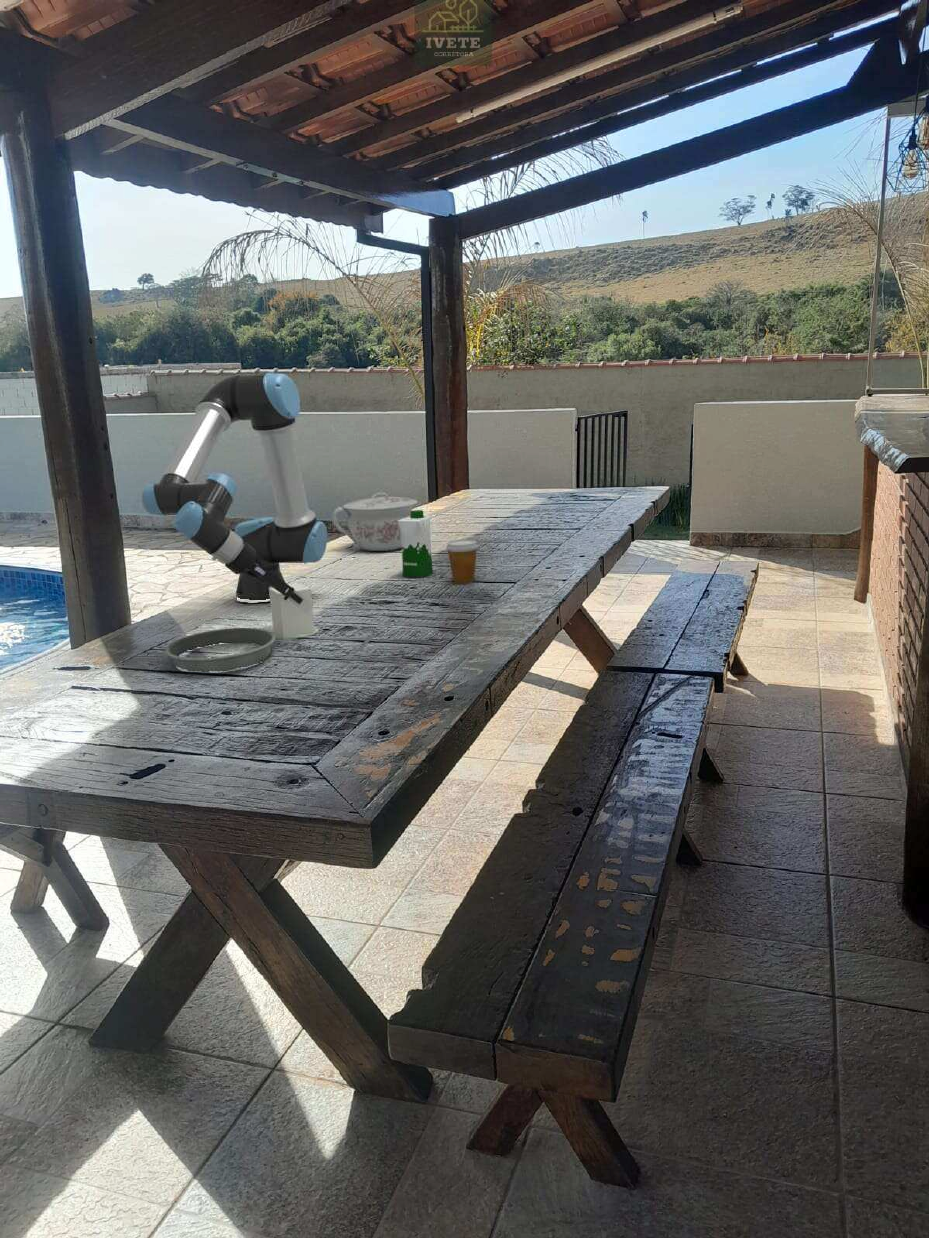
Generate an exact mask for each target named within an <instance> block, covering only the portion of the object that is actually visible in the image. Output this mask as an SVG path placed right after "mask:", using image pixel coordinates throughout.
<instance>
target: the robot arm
mask: <svg viewBox="0 0 929 1238" xmlns="http://www.w3.org/2000/svg"><path fill="white" fill-rule="evenodd" d="M300 404H301V398H300V394H299V391H298V388H297V386H296V384H295V382H294V381H293V380H292V378H290V377H289V376H288V375H287V374H284V373H274V372H267V373H256V374H245V375H243V374H242V375H240V374H238V375H231V376H229V377H225V378H224V379H221V380H220V381H218V382H217V383H216V384H214V385H213V386H212V387H211V388H210V389H209V390H207V392H206V393H205V394H204V395H203V396H202V398H200V401H199V402H198V404H197V405H196V408H195V411H194V412H195V413H194V414H195V417H194V419H193V421H192V422H191V423H192V424H191V425H190V427H189V428H188V430H187V432H186V433H185V436H184V438H183V439H182V441H181V443H180V445H179V447H178V448H177V450H176V452H175V454H174V455H173V457H172V458H171V459H172V460H171V461H170V463H169V464H168V466H167V468H166V470H165V472H164V474H163V476H162V477H161V479H160V481H159V482H158V483H156V482H155V483H152V484H151V483H150V484H148V485H145V487H144V488H143V490H142V493H141V502H142V506H143V508H144V510H145V511H146V512H147V513H149V514H150V515H153V516H154V515H155V516H164V517H165V516H174V518H173V522H172V523H173V527H174V528H175V529H176V530H177V531H178V532H179V533H181V535H183V536H184V538H187V539H188V540H189V541H191V542H192V543H194V544H195V545H196V546H198V548H200V549H202V550H203V551H205V552H206V553H207V554H208V555H210V556H212V557H211V560H212V561H213V562H215V561H216V560H217V561H218V562H220V563H221V564H223V565H224V566H225V568H227V569H228V570H229V571H231V572H232V573H233V574H235V575H239V576H238V580H237V585H236V589H235V598H236V597H238V598H240V599H249V600H266V599H270V595H269V588H274V589H276V590H277V591H278V592H280V593H281V594H283V595H284V596H285V597H284V600H287V599H288V600H289V601H291V602H292V603H293V604H295V605H296V606H297V607H299V608H300V609H301V610H303V611H304V612H305V613H308V612H309V611H310V609H311V608H313V607H314V603H313V602H312V603H311V602H310V601H308V600H307V599H306V598H304V597H303V596H302V595H301V594H299V593H298V592H297V591H295V589H294V588H293V587H291V586H289V585H290V584H288V583H287V582H286V581H285V580H286V579H285V578H284V576H283V574H282V571H281V567H280V564H304V565H305V564H309V563H310V564H311V563H313V564H314V563H317V562H319V561H321V560H322V559H323V556H324V555H325V552H326V550H327V549H326V548H327V543H328V530H327V529H328V528H327V526H326V525H325V523H324V522H323V521H317V520H318V519H317V517H316V513H315V512H314V511H313V510H310V509H309V505H308V500H307V495H306V491H305V485H304V481H303V476H302V472H301V467H300V463H299V458H298V454H297V449H296V445H295V438H294V436H293V435H294V434H293V430H292V429H293V427H294V425H295V424H296V417H298V416H299V414H300V410H301V406H300ZM238 421H239V422H240V421H250V423H251V426H252V427H251V428H252V430H253V431H254V432H255V433H258V435H259V437H260V441H261V445H262V450H263V454H264V458H265V462H266V467H267V471H268V476H269V480H270V485H271V489H272V493H273V498H274V502H275V506H276V510H277V516H276V518H275V517H274V516H273V517H272V516H266V517H261V518H256V519H251V520H246V521H243V522H240V523H238V524H236V526H235V527H234V531H233V530H232V529H230V528H229V527H227V526H226V525H225V524H224V523H223V521H224V519H225V518H226V515H227V513H228V512H229V510H230V508H231V505H232V504H233V502H234V499H235V495H236V493H237V490H238V489H237V485H236V483H235V481H234V480H233V479H232V477H230V476H229V475H227V474H225V473H221V472H214V473H212V474H209V476H208V477H207V478H206V479H205V481H204V482H197V481H198V479H199V477H200V475H201V473H202V472H203V470H204V468H205V466H206V464H207V462H208V460H209V458H210V456H211V454H212V453H213V451H214V449H215V447H216V446H217V444H218V442H219V439H220V438H221V435H222V433H223V432H226V431H228V430H229V428H230V427H231V425H232V424H233V423H234V422H235V423H236V422H238ZM287 589H288V591H287ZM286 591H287V592H286Z"/></svg>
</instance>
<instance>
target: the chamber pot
mask: <svg viewBox="0 0 929 1238" xmlns="http://www.w3.org/2000/svg"><path fill="white" fill-rule="evenodd" d="M418 502H419V501H418V500H417V499H413V498H409V497H402V496H388V494H387V493H385V492H376V493H374V494H373V495H371V497H369V498H363V499H357V500H353V501H350V502H348V503H345V504H344V505H343V506H337V508H335V509H334V511H333V513H332V523H333V525H334V527H335V528H336V529H337V530H338V532H341V533H342V534H344V535H346V537H348V538H350V540H351V541H352V542H353V543H355V544H356V545H357V546H358V547H359V548H360V549H362V550H364V551H367V552H371V551H386V552H392V551H397V549H398V550H400V549H402V547H401V533H400V529H399V525H398V520H401V519H403V518H407V517H411V511H413V510H412V508H413V506H415V505H417V504H418ZM340 513H344V514H345V515H346V521H347V524H348V525H347V526H348V529H349V531H348V530H346V529H344V528H342V526H341V525H340V524H339V522H338V517H337V516H338V514H340Z"/></svg>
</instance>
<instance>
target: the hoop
mask: <svg viewBox="0 0 929 1238" xmlns="http://www.w3.org/2000/svg"><path fill="white" fill-rule="evenodd" d="M271 632H272V631H269V630H265V629H261V628H255V627H254V628H252V627H232V628H231V627H230V628H221V629H214V630H207V631H203V632H202V631H201V632H198V633H194V634H191V635H188V636H183V637H181V638H179V639H177V640H174V641H172V642H171V643H169V644H168V645H167V646H166V648H165V649H164V651H165V654H166V655H167V656H168V657H169V658H171V659H172V662H173V664H174V666H175V665H176V666H177V667H180V668H182V669H186V670H188V671H198V672H199V671H201V672H209V671H228V670H233V669H236V668H241V667H247V666H250V665H253V664H257V663H260V662H262V661H264V660H265V659H267V658H268V657H269V656H270V655H271V652H272V644H273V643H274V642H275V641H276V639H277V638H276V637H275V635H274V634H273V633H271ZM219 643H232V644H251V643H255V644H254V645H259V647H256V648H254V649H251V650H248V651H243V652H240V653H235V654H229V655H223V656H210V657H211V658H185V657H179V655H180V654H182V653H184V652H185V651H187V650H193V649H195V648H197V647H204V648H206V647H205V646H209V645H213V644H219ZM209 647H210V646H209Z"/></svg>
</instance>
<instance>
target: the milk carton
mask: <svg viewBox="0 0 929 1238" xmlns="http://www.w3.org/2000/svg"><path fill="white" fill-rule="evenodd" d="M398 525H399V529H400V533H401V547H402V548H401V557H402V559H401V560H402V577H403V578H418V579H419V578H420V579H423V578H424V577H427V576H428V575H432V574H433V573H434V571H433V559H432V558H433V557H432V541H431V516H424V510H422V509H420V510H419V509H414V510H412V511H411V517H407V518H403V519H401V520H398Z"/></svg>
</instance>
